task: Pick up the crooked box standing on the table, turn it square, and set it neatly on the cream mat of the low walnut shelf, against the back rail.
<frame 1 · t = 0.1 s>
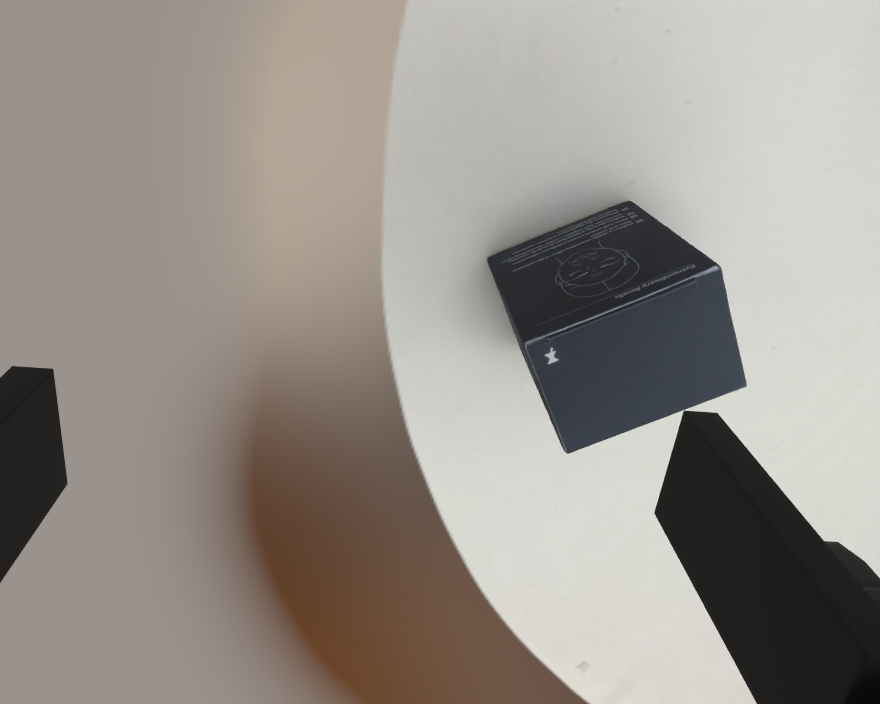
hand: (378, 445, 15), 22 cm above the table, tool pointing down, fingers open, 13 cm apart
box: (572, 274, 37), on the table
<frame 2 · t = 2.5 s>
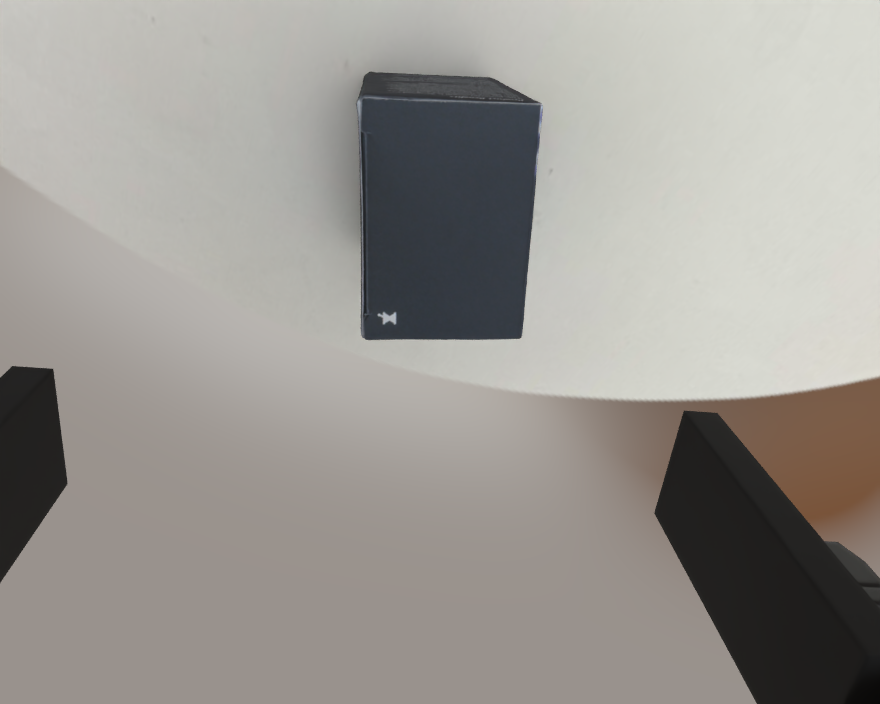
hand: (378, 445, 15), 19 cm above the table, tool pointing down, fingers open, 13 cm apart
box: (426, 165, 32), on the table
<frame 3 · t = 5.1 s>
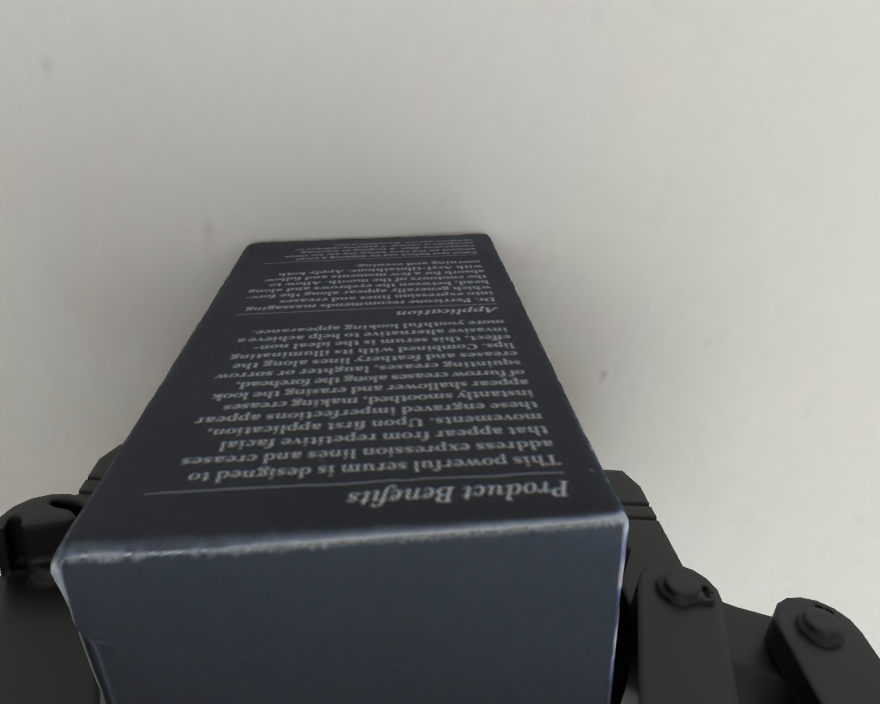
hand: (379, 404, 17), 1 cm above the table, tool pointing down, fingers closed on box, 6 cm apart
box: (379, 382, 18), on the table, touching gripper
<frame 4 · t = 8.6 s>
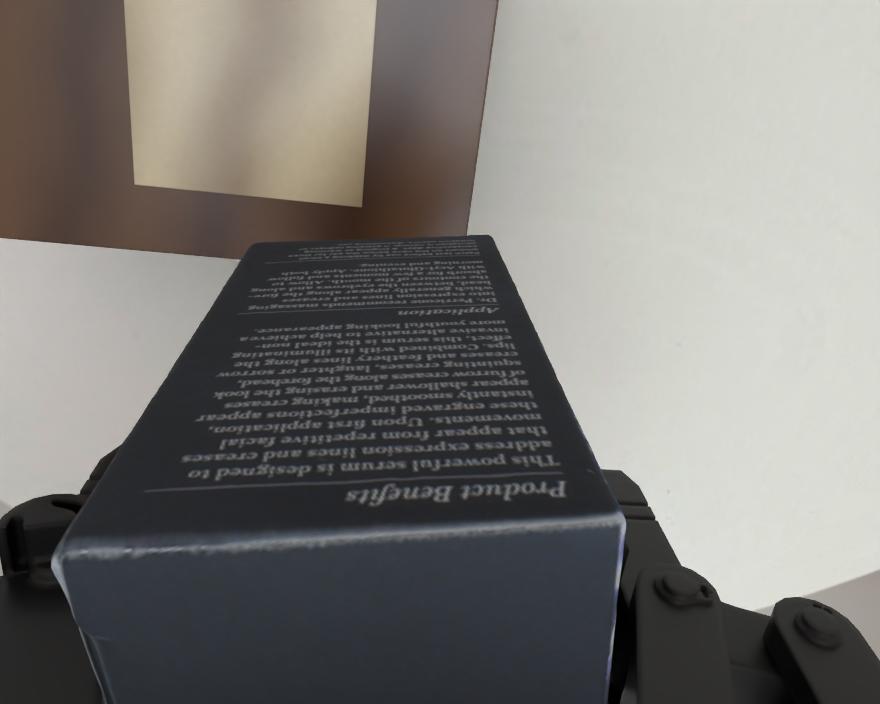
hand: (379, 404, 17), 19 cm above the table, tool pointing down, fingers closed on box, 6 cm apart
box: (382, 382, 18), point 18 cm above the table, touching gripper
shelf: (257, 48, 31), on the table
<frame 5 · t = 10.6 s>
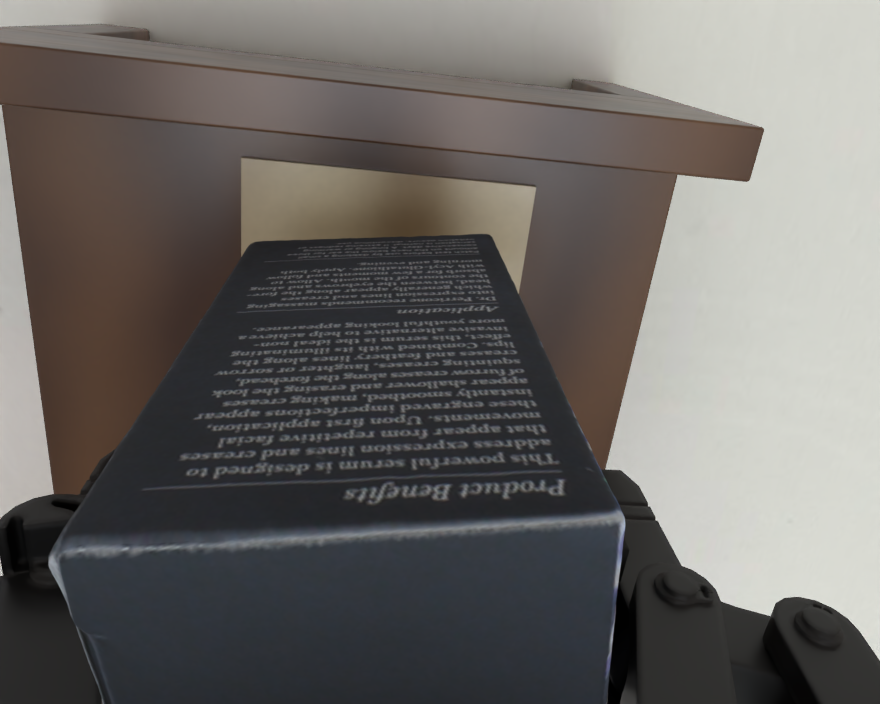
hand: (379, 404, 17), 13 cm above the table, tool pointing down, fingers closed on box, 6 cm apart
box: (381, 381, 18), point 11 cm above the table, touching gripper
shelf: (355, 247, 28), on the table
when the fingers open (9 cm above the table, at t = 12.0 s): box stays where it is, resting on shelf.
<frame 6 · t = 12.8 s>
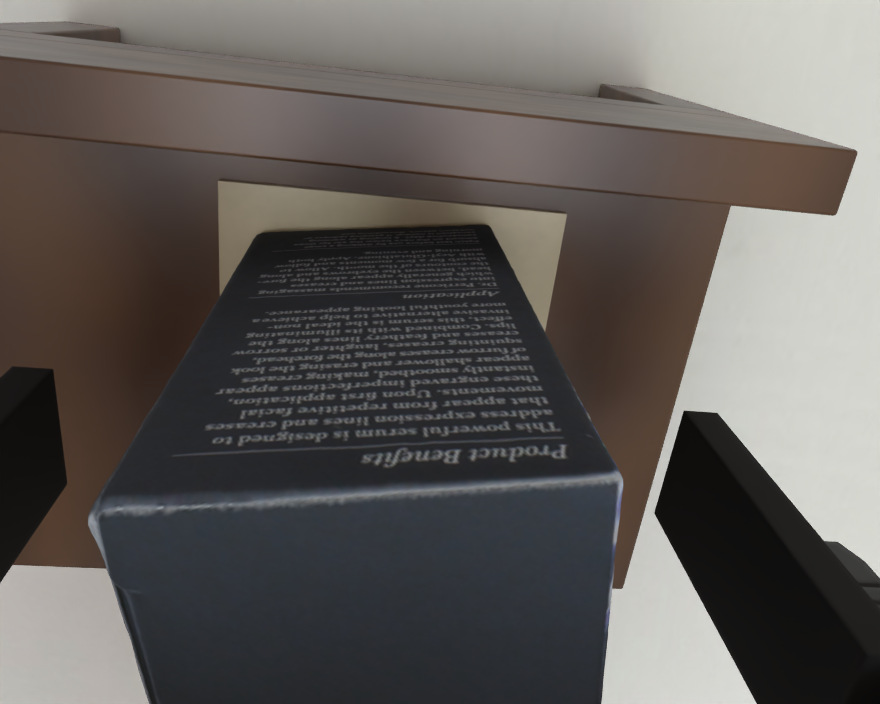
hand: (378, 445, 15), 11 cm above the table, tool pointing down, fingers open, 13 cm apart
box: (383, 368, 18), point 8 cm above the table, touching shelf
shelf: (354, 271, 25), on the table
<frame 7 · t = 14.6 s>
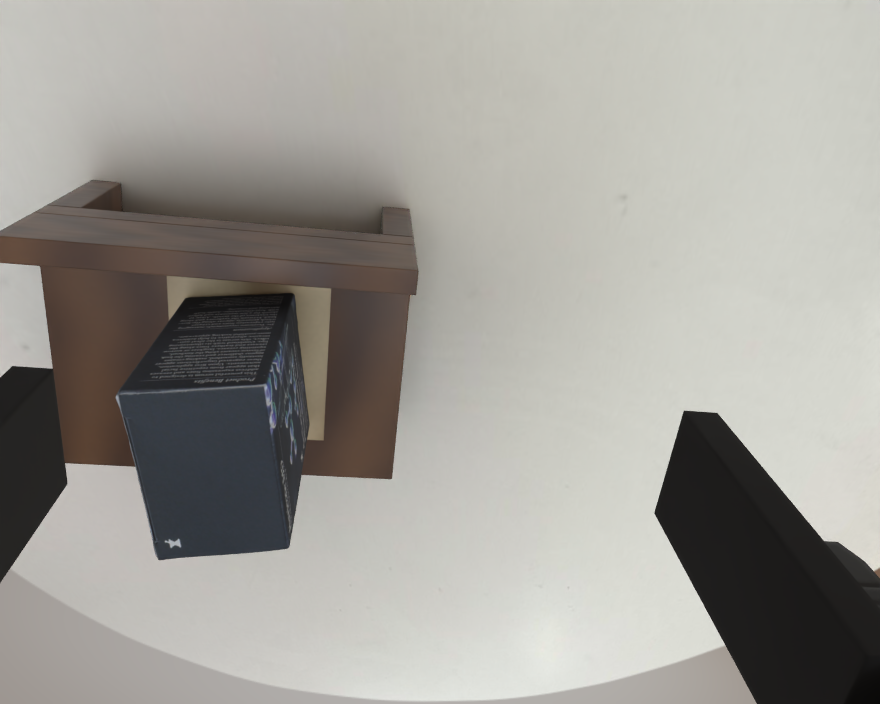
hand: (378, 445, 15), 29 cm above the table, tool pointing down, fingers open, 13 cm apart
box: (251, 360, 38), point 8 cm above the table, touching shelf
shelf: (253, 307, 44), on the table
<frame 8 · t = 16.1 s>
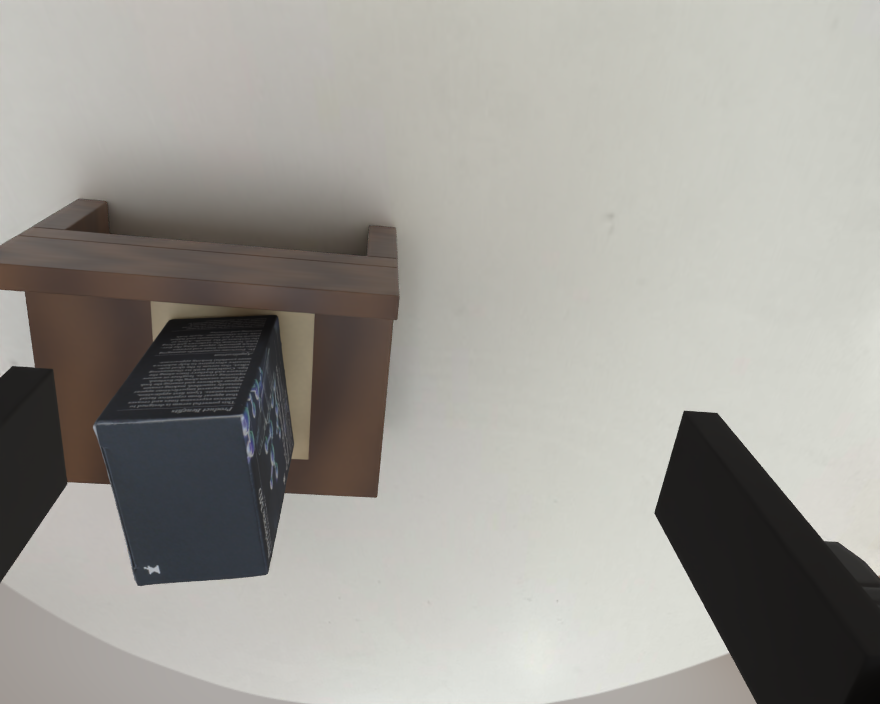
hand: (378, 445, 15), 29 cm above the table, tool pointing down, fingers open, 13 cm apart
box: (235, 381, 38), point 8 cm above the table, touching shelf
shelf: (241, 324, 45), on the table
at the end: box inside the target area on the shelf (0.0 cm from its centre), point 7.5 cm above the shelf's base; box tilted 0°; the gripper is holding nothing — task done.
